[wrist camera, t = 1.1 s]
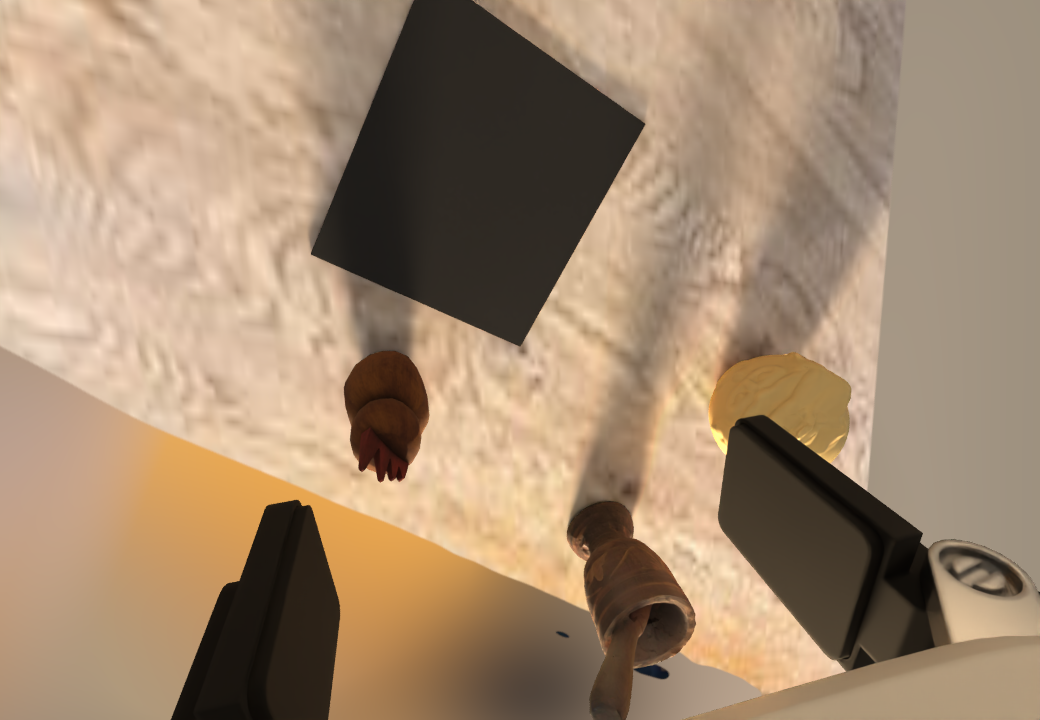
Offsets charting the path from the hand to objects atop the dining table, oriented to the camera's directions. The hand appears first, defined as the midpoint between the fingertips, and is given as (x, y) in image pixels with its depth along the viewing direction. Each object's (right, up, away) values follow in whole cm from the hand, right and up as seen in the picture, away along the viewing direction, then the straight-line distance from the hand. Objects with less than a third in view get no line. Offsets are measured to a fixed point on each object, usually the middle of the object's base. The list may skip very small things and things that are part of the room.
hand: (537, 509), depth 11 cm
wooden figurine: (-11, +2, +31) cm, 33 cm away
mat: (-3, +16, +27) cm, 31 cm away
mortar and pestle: (+6, -15, +43) cm, 46 cm away
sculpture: (+22, 0, +40) cm, 46 cm away
